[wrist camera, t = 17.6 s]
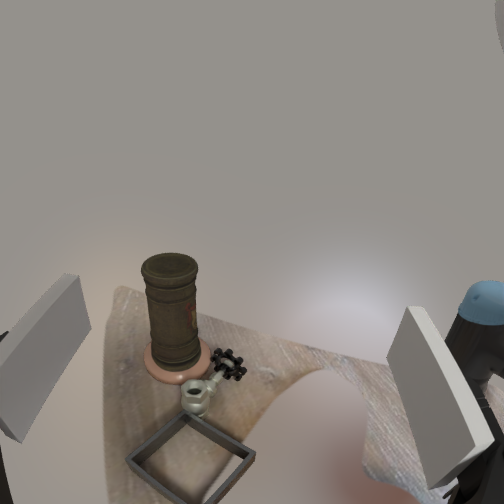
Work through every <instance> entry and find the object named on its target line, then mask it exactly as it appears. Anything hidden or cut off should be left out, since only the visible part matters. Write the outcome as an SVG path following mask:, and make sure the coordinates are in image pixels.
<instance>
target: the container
mask: <svg viewBox="0 0 504 504" xmlns="http://www.w3.org/2000/svg"><path fill="white" fill-rule="evenodd" d="M197 272H198V265H197V263H196V261H195V260H194V259H193V258H191V257H190V256H187V255H184V254H180V253H162V254H158V255H154V256H152V257H150V258H148V259H147V260H146V261H145V262H144V263H143V265H142V267H141V274H142V276H143V277H144V281H145V284H146V290H145V293H146V296H147V302H148V311H149V318H150V326H151V332H150V335H151V338H152V342H151V355H152V359H153V360H154V362H155V363H156V365H157V366H158V367H160V368H161V369H163V370H165V371H169V372H180V371H185V370H188V369H190V368H191V367H193V366H194V365H195V364H196V363H197V362H198V361H199V359H200V357H201V346H200V340H199V338H198V328H197V320H196V286H195V280H196V275H197Z"/></svg>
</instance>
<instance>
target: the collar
mask: <svg viewBox="0 0 504 504" xmlns="http://www.w3.org/2000/svg"><path fill="white" fill-rule="evenodd" d="M186 424H188V425H189V426H191V427H192V428H194V429H195V430H197V431H198V432H200V433H201V434H203V435H204V436H206V437H207V438H209V439H210V440H212V441H214V442H215V443H217V444H218V445H220V446H222V447H223V448H225V449H227V450H228V451H230V452H232V453H233V454H235V455H237V456H239V457H240V458H242V459H244V461H243V462H242V463H241V464H240V465H239V466H238V467H237V469H236V470H235V471H234V472H233V473H232V474H231V475H230V477H229V478H228V479H227V480H226V481H225V482H224V483H223V484H222V485H221V486H220V487H219V489H218V490H217V491H216V492H215V493H214V494H213V495H212V496H211V497H210V498H209V499H208V500H207V501H206V502H205V503H204V504H218V503H219V501H220V500H221V499H222V498H223V497H224V496H225V495H226V494H227V493H228V492H229V490H230V489H231V488H232V487H233V486H234V485H235V484H236V483H237V481H238V480H239V479H240V477H242V476H243V474H244V473H245V472H246V471H247V470H248V468H249V467H250V466H251V465H252V464H253V462H254V461H255V456H256V452H255V451H254V450H252V449H250V448H248V447H246V446H245V445H243V444H241V443H239V442H238V441H236V440H234V439H232V438H231V437H229V436H227V435H226V434H224V433H222V432H221V431H219V430H217V429H216V428H214V427H213V426H211V425H209V424H208V423H206V422H205V421H203V420H201V419H200V418H198V417H197V416H195V415H194V414H192V413H191V412H188V411H186V410H185V409H183V410H182V411H181V412H180V413H179V414H178V415H177V416H175V417H174V418H173V419H172V420H171V421H170V422H168V423H167V424H166V425H165V426H164V427H163V428H161V429H160V430H159V431H158V432H157V433H155V434H154V435H153V436H152V437H151V438H149V439H148V440H147V441H146V442H145V443H143V444H142V445H141V446H140V447H139V448H137V449H136V450H135V451H134V452H132V453H131V454H130V455H129V456H127V457H126V458H125V461H126V463H127V464H128V466H129V468H130V469H131V470H132V471H133V472H135V473H136V474H137V475H138V476H139V477H140V478H142V479H143V480H144V481H145V482H146V483H148V484H149V485H150V486H151V487H152V488H154V489H155V490H156V491H158V492H159V493H160V494H161V495H163V496H164V497H165V498H167V499H168V500H169V501H171V502H172V503H173V504H187V503H186V502H184V501H183V500H181V499H180V498H179V497H177V496H176V495H174V494H173V493H172V492H170V491H169V490H168V489H166V488H165V487H164V486H163V485H161V484H160V483H159V482H157V481H156V480H155V479H154V478H152V477H151V476H150V475H149V474H147V473H146V472H145V471H144V470H143V469H142V468H140V467H139V465H140V464H141V463H142V462H144V461H145V460H146V459H147V458H148V457H149V456H151V455H152V454H153V453H154V452H155V451H156V450H158V449H159V448H160V447H161V446H162V445H163V444H165V443H166V442H167V441H168V440H169V439H170V438H171V437H172V436H174V435H175V434H176V433H177V432H178V431H179V430H180V429H181V428H183V427H184V426H185V425H186Z"/></svg>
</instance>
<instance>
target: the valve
mask: <svg viewBox="0 0 504 504" xmlns="http://www.w3.org/2000/svg"><path fill="white" fill-rule="evenodd" d="M215 354H218V356H217V355H215ZM232 354H233V351H232V350H231V349H227V350H226V351H225V352H224V353H223V351H222V349H220V348H217V349H216V350H215V351H214V355H212V356H211V357H210V361H211V362H214V361H215V365H216V366H215V367H214V370H215V371H216V372H214V373H213V374H212V375H211V376H210V377H209V380H197V379H189V380H187V381H186V382H185V383H184V384H183V385H182V387H181V393H182V398H181V404H182V407H183V409H185V410H186V411H188V412H191V413H192V414H194V415H195V416H197V417H198V418H200V419H201V420H203V421H204V419H205V418H206V417H207V416H208V415H209V405H210V400H209V398H211V397H213V396H214V395H215V394H216V393H217V389H216V385H219V384H220V383H221V382H222V379H223V378H222V377H224V378H225V379H227V380H229V379H230V378H231V376H235V377H236V378H235V380H236V381H240V379H241V378H242V376H243V375H245V373H246V372H247V369H246V368H245V367H241V366H240V365H241V364H242V363H243V359H242V358H241V357H238V358H235V357H233V355H232ZM221 358H227V359H229V360H231V361H232V362H233V363H234V364H235V365H234V366H233V364H232V362H230V361H229V360H225V361H224V362H223V363H221ZM234 370H236V371H234ZM239 372H241V374H240V373H239Z"/></svg>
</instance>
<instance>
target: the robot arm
mask: <svg viewBox="0 0 504 504" xmlns="http://www.w3.org/2000/svg"><path fill="white" fill-rule="evenodd" d="M495 18H496V25H497V31H498V35H499V40H500V43H501V46H502V49H503V52H504V0H496V3H495ZM90 330H91V325H90V321H89V317H88V313H87V310H86V305H85V301H84V297H83V292H82V288H81V283H80V278H79V276H78V275H72V274H64V275H63V276H62V277H61V278H59V279H58V281H57V282H55V284H53V286H52V287H51V288H50V289H49V290H48V291H47V292H46V293H45V294H44V295H43V296H42V297H41V298H40V299H39V300H38V301H37V302H36V303H35V304H34V305H33V306H32V307H31V308H30V310H29V311H28V312H27V313H26V314H25V315H24V316H23V317H22V318H21V320H19V322H18V323H17V324H16V325H15V326H14V327H13V328H12V330H11V331H10V332H8V331H6V332H5V333H3V334H2V335H0V428H1V430H2V431H3V432H4V434H5V435H6V436H8V437H10V438H11V439H14V440H16V441H17V442H19V443H22V442H23V440H24V438H25V436H26V434H27V433H28V431H29V429H30V427H31V425H32V424H33V422H34V420H35V418H36V416H37V415H38V413H39V411H40V409H41V408H42V406H43V404H44V403H45V401H46V399H47V397H48V396H49V394H50V392H51V391H52V389H53V388H54V386H55V384H56V383H57V381H58V379H59V377H60V376H61V375H62V373H63V371H64V370H65V368H66V366H67V365H68V363H69V362H70V360H71V359H72V357H73V356H74V354H75V352H76V351H77V349H78V348H79V346H80V345H81V343H82V342H83V340H84V339H85V337H86V336H87V334H88V333H89V331H90ZM386 358H387V360H388V363H389V366H390V368H391V371H392V374H393V377H394V379H395V382H396V385H397V388H398V391H399V394H400V396H401V399H402V402H403V405H404V408H405V411H406V414H407V417H408V420H409V424H410V427H411V430H412V433H413V436H414V440H415V443H416V446H417V450H418V453H419V456H420V460H421V463H422V467H423V471H424V474H425V478H426V482H427V486H428V490H430V489H434V488H438V487H442V486H445V485H448V484H449V483H450V482H451V481H452V480H454V479H455V478H456V477H457V479H458V482H459V483H458V484H457V485H456V486H454V487H453V488H452V489H451V490H449V491H448V492H447V493H445V495H444V496H443V499H445V498H447V497H448V496H449V495H451V496H450V499H449V500H448V503H447V504H504V434H503V432H502V430H501V428H500V426H499V424H498V422H497V420H496V418H495V415H494V413H493V411H492V409H491V407H490V408H489V404H488V402H487V400H486V399H485V396H484V394H485V390H486V387H487V384H488V381H489V379H490V377H491V376H492V375H493V373H494V374H496V375H498V376H500V377H502V378H503V379H504V283H502V282H498V281H480V282H477V283H475V284H473V285H472V286H471V287H470V288H469V289H468V291H467V293H466V295H465V298H464V300H463V302H462V303H461V304H460V306H459V308H458V314H457V316H456V318H455V320H454V322H453V324H452V327H451V329H450V331H449V333H448V335H447V337H446V339H445V341H444V340H443V339H442V337H441V335H440V334H439V332H438V331H437V329H436V327H435V326H434V324H433V322H432V320H431V319H430V317H429V316H428V314H427V313H426V311H425V309H424V308H423V307H417V306H416V307H415V306H407V308H406V311H405V313H404V316H403V319H402V321H401V324H400V326H399V329H398V331H397V334H396V336H395V338H394V341H393V344H392V346H391V348H390V350H389V353H388V355H387V357H386ZM0 504H13V500H12V497H11V493H10V489H9V485H8V481H7V477H6V473H5V468H4V463H3V458H2V453H1V447H0Z"/></svg>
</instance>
